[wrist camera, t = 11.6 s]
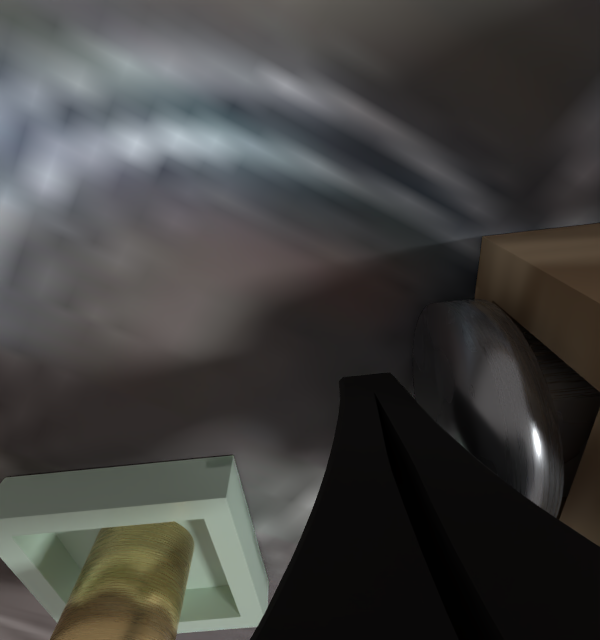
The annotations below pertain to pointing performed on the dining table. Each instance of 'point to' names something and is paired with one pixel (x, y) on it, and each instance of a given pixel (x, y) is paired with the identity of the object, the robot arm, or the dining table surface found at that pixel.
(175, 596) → the cylinder
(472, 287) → the dining table surface
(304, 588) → the robot arm
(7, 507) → the pale green square tray
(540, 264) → the bearing block
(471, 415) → the shaft
